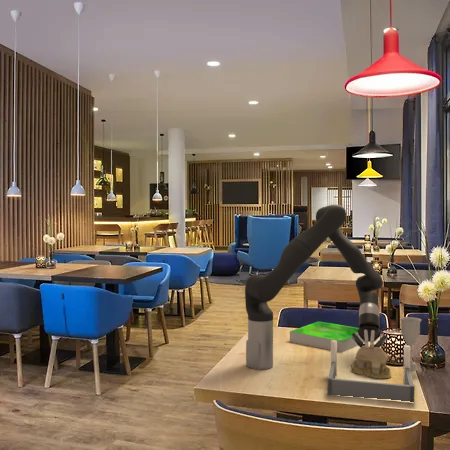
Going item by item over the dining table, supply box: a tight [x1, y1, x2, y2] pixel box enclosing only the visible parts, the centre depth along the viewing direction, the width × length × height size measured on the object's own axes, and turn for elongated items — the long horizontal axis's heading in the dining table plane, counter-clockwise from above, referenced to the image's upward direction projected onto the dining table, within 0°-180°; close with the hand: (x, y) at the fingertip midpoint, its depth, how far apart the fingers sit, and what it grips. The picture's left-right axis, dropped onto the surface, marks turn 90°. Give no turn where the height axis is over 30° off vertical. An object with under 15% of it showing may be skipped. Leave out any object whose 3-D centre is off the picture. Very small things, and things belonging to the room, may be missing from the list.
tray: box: [289, 321, 365, 353], centre depth 217 cm, size 25×25×5 cm
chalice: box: [399, 316, 422, 372], centre depth 179 cm, size 7×7×18 cm
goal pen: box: [327, 340, 415, 403], centre depth 160 cm, size 20×26×12 cm
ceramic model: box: [350, 344, 392, 379], centre depth 174 cm, size 14×11×10 cm
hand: (369, 358), depth 179 cm, fingers closed
